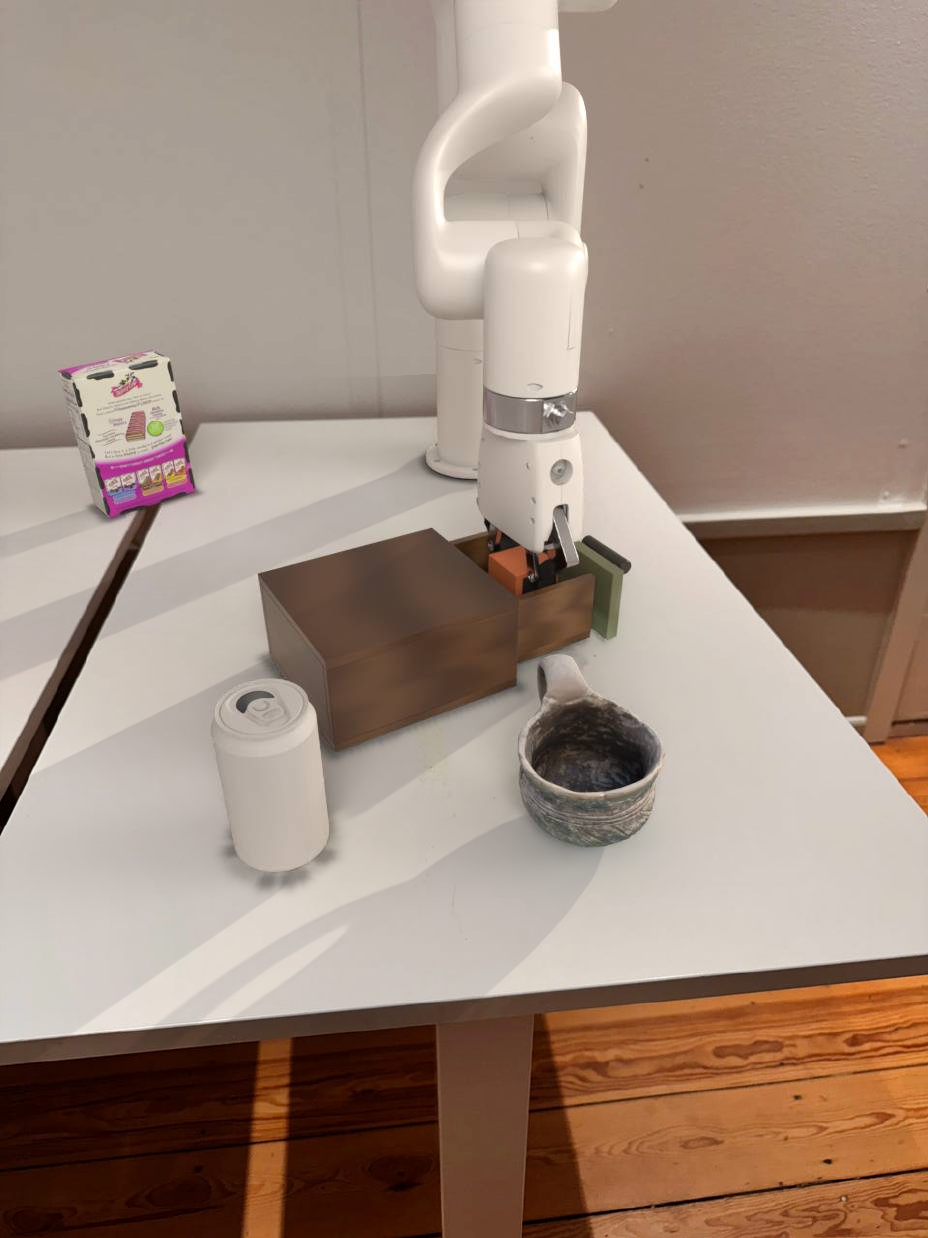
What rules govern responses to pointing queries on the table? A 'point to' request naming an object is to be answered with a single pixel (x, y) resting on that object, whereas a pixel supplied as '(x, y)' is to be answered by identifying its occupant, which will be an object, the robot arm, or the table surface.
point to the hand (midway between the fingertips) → (521, 598)
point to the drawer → (564, 597)
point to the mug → (586, 761)
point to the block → (511, 568)
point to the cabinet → (390, 633)
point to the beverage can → (271, 774)
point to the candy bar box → (129, 431)
